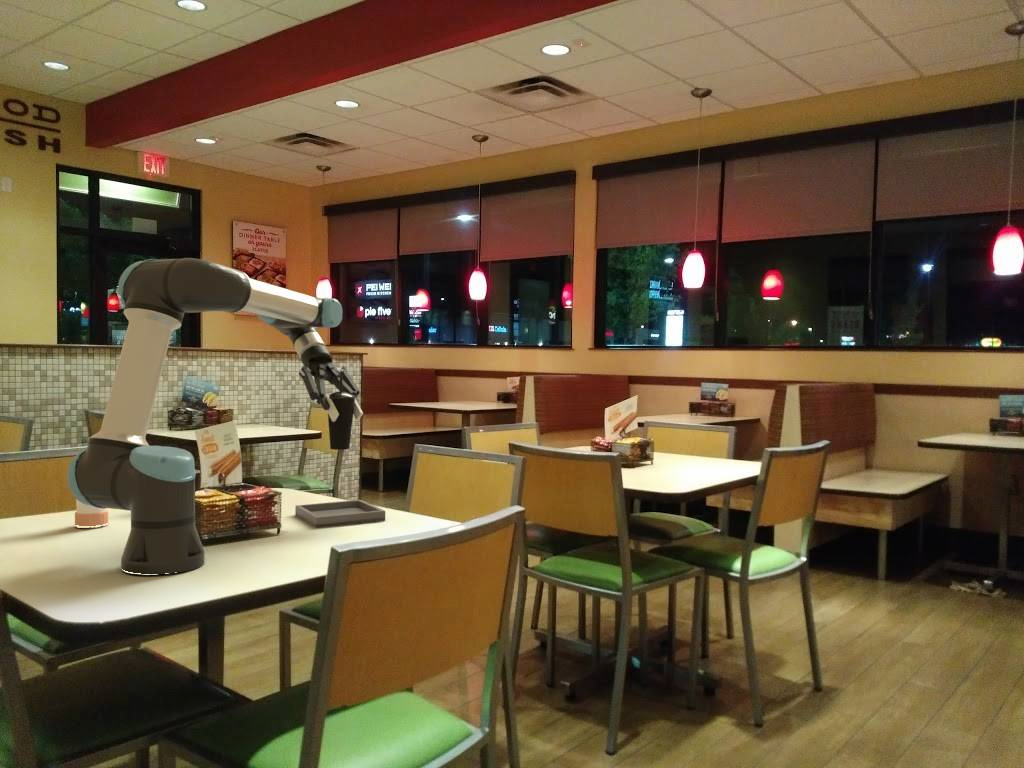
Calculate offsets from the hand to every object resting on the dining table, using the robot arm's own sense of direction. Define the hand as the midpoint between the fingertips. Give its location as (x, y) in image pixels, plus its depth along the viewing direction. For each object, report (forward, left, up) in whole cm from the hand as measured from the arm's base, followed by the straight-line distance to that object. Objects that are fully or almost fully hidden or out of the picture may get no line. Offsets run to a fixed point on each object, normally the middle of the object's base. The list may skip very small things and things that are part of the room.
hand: (347, 417), depth 201 cm
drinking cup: (-1, +3, -9) cm, 9 cm away
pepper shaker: (-57, +23, -27) cm, 67 cm away
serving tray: (-1, +4, -26) cm, 27 cm away
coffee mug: (-35, +37, -27) cm, 57 cm away
